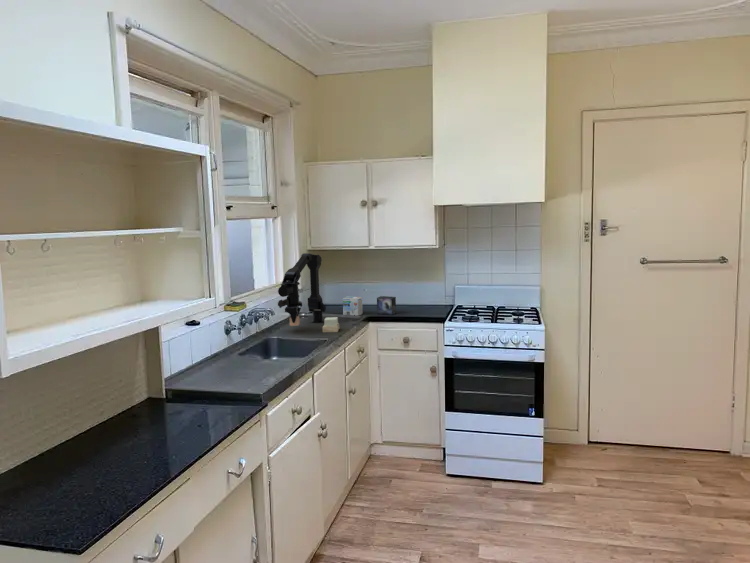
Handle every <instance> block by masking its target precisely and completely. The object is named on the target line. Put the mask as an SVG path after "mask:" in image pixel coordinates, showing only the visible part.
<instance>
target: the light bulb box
mask: <svg viewBox="0 0 750 563" xmlns="http://www.w3.org/2000/svg"><path fill="white" fill-rule="evenodd" d="M342 310H343V311H342V314H343V316H354V315H355V316H360V315H363V314H364V312H363V297H362V296H345V297H343V298H342Z"/></svg>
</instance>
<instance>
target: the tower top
mask: <svg viewBox="0 0 750 563" xmlns="http://www.w3.org/2000/svg"><path fill="white" fill-rule="evenodd" d="M323 322H324V323H323V324H325V326H337V324H338V323H339V317H337V316H335V317H325V318H324V321H323Z"/></svg>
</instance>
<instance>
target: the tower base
mask: <svg viewBox="0 0 750 563" xmlns="http://www.w3.org/2000/svg"><path fill="white" fill-rule="evenodd" d="M339 330H340V323H339V322H338V324H337V326H325V323H323V326H322V333H339Z"/></svg>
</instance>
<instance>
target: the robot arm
mask: <svg viewBox="0 0 750 563" xmlns="http://www.w3.org/2000/svg"><path fill="white" fill-rule="evenodd" d="M322 260H323V259H322V257H321V255H319V254H313V253H309V252H306V253H304V252H303V253H301V256H300V258H299V259H298V261H296V263H295V265H293V266H292V267H290V268H289V269H288V270H286V271H285V273H284V275H283V279H282V283H281V284H280V286H279V288H278V289H277V293H278V295H279V296H280V297H282V298H284V297H286V298H285V299H280V300H278V302H277V307H279V309H281V308H283V307H285V308H284V312H285V313H288V314H289V317H291V319H292V322H293V323H295V321H296V317H297V316H299V314H300V313H301V309H302V307H303V302H302V301H301V300H299V298H300V295H299V286H300V285H301V284H300V282H299V280H300V278H301V277H302V275H301V273H302V271H303V270H304V269H305V267H306V266H307V268H308V269H309V278H310V282H309V283H310V296H309V297H307V307H308V312H312V320H311V323H323V322H324V320H325V318H323V317H324V316H323V315H324V314H323V313H325V312H326V311H327V308H326V305H325V304H324V302H323V297H322V296H321V294H320V277H319V276H320V275H319V274H320V273H319V271H320V270H319V269H320V268H321V266H322Z"/></svg>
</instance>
